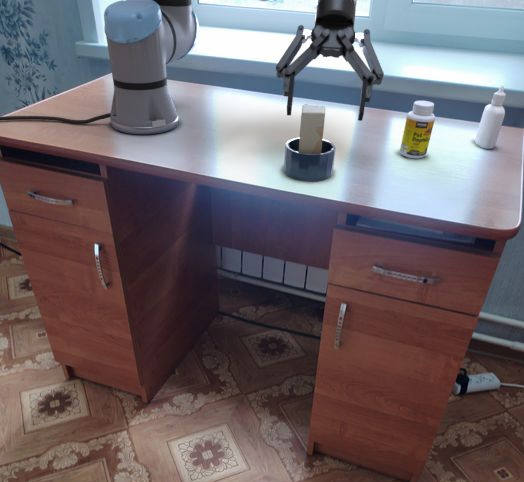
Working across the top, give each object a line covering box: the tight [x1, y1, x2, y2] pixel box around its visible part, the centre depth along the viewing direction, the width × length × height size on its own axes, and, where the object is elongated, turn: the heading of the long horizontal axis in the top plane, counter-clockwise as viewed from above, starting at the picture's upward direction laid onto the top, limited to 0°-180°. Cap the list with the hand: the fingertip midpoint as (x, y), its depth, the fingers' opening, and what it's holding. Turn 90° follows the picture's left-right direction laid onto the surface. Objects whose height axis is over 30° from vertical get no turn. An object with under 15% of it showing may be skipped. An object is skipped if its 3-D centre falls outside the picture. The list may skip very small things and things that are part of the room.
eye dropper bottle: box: [474, 85, 507, 150], centre depth 109 cm, size 4×6×12 cm
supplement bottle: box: [399, 100, 436, 159], centre depth 104 cm, size 6×6×10 cm
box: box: [299, 104, 326, 154], centre depth 95 cm, size 5×4×11 cm
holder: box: [283, 137, 336, 182], centre depth 97 cm, size 9×9×5 cm
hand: (324, 114), depth 95 cm, fingers open, 13 cm apart
